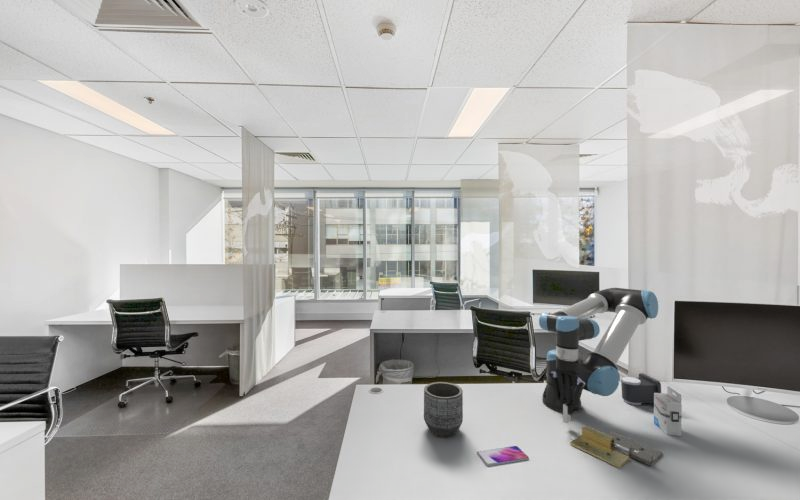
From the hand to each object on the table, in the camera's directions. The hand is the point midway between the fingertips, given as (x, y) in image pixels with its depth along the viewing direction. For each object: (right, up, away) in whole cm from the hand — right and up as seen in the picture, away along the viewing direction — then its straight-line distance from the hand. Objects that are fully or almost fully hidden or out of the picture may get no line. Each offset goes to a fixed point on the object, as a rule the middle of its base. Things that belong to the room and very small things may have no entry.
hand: (566, 421), depth 121 cm
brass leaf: (+5, -2, -13) cm, 14 cm away
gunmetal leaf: (+14, -2, -13) cm, 19 cm away
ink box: (+37, -3, 0) cm, 37 cm away
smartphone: (-29, -3, -17) cm, 34 cm away
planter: (-46, -3, -1) cm, 46 cm away
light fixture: (+42, -3, +22) cm, 48 cm away
